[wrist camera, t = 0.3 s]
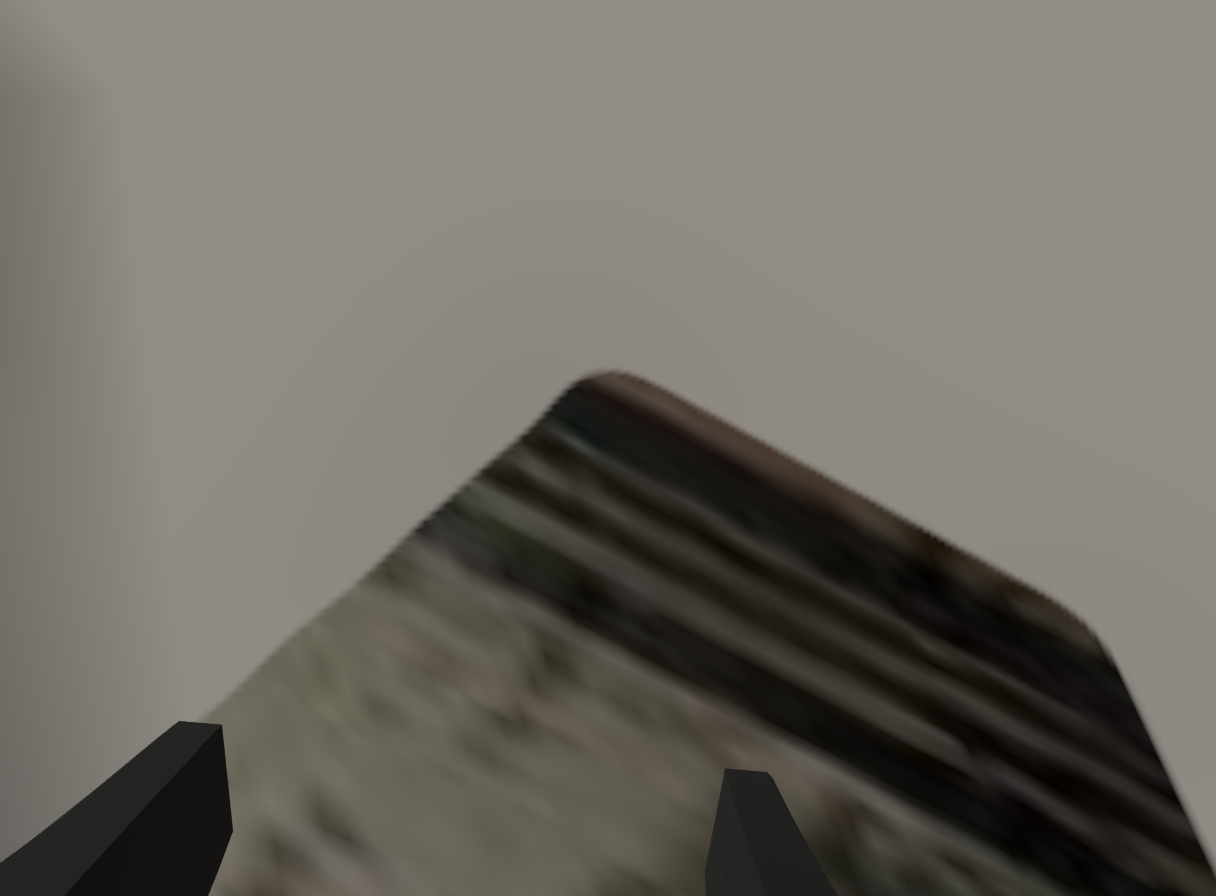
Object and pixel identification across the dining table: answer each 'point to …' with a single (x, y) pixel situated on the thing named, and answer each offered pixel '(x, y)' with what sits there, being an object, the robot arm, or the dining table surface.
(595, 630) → the dining table surface
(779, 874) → the robot arm
